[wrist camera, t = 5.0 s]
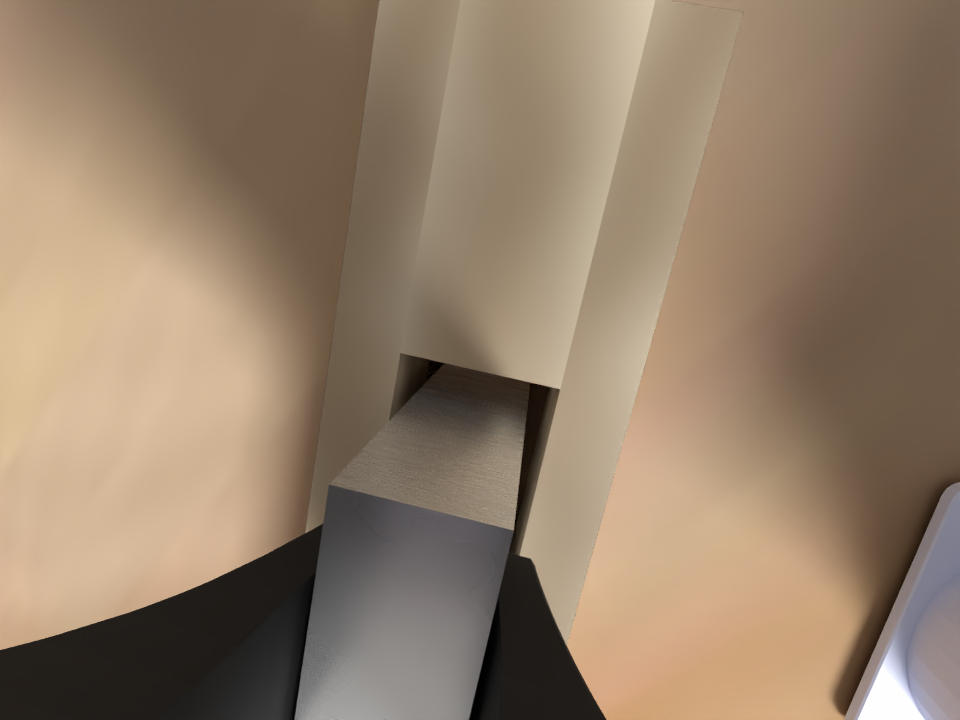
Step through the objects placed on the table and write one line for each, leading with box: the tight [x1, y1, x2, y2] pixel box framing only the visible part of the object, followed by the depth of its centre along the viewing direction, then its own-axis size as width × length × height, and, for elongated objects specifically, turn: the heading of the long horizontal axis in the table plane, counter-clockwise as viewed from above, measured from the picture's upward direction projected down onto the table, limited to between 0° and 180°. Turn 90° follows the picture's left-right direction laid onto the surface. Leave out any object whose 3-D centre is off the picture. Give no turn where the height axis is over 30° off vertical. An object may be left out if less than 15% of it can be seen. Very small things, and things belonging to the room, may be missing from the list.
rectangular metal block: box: [295, 363, 530, 720], centre depth 11 cm, size 2×6×8 cm, turn 169°
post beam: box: [305, 0, 743, 646], centre depth 13 cm, size 6×22×4 cm, turn 169°
